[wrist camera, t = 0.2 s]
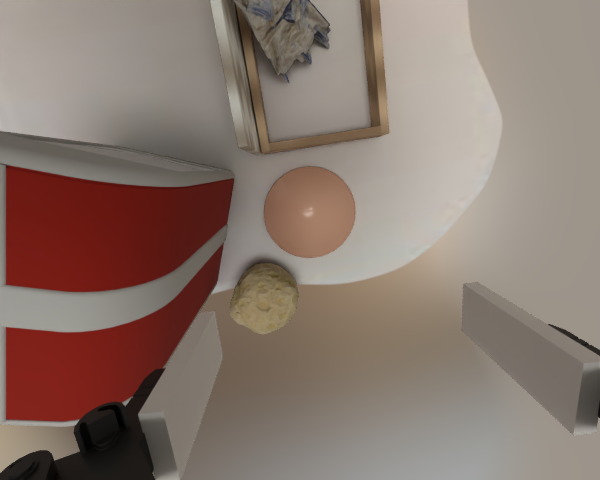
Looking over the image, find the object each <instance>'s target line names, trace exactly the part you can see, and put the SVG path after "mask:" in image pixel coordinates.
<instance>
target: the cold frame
mask: <svg viewBox="0 0 600 480" xmlns="http://www.w3.org/2000/svg"><path fill="white" fill-rule="evenodd" d="M210 2H211V8H212V13H213V18H214V23H215V29H216V34H217V39H218V44H219V49H220V55H221V60H222V65H223V70H224V76H225V81H226V86H227V91H228V96H229V102H230V107H231V112H232V117H233V123H234V128H235V133H236V138H237V143H238V148H241V149H243V150H245V151H248V152H250V153H252V154H255V155H263V154H269V153H276V152H282V151H289V150H295V149H302V148H308V147H314V146H321V145H327V144H334V143H340V142H347V141H353V140H359V139H366V138H372V137H379V136H382V135H385V134H388V133H389V122H388V109H387V96H386V83H385V70H384V57H383V44H382V31H381V18H380V4H379V0H360V3H361V14H362V25H363V36H364V47H365V59H366V70H367V81H368V92H369V103H370V115H371V126H372V127H370V128H363V129H357V130H350V131H344V132H337V133H331V134H325V135H318V136H312V137H305V138H299V139H292V140H286V141H279V142H273V143H270V141H269V135H268V129H267V123H266V117H265V111H264V105H263V99H262V93H261V87H260V81H259V75H258V69H257V63H256V57H255V51H254V45H253V39H252V33H251V28H250V26H249V24H248V22H247V20H246V19H245V17H244V15H243V13H242V11H241V10H240V8H238V6H237V4H235V2H234V1H233V0H210Z"/></svg>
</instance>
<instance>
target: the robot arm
mask: <svg viewBox="0 0 600 480" xmlns="http://www.w3.org/2000/svg"><path fill="white" fill-rule="evenodd" d="M462 331H463V332H464V333H465V334H466V335H467V336H468V337H469V338H470V339H471V340H472V341H473V342H474V343H475V344H477V345H478V346H479V347H480V348H481V349H482V350H483V351H484V352H485V353H486V354H487V355H488V356H489V357H490V358H492V359H493V360H494V361H495V362H496V363H497V364H498V365H499V366H500V367H501V368H502V369H503V370H504V371H506V373H508V374H509V375H510V376H511V377H512V378H513V379H514V380H515V381H516V382H517V383H518V384H519V385H520V386H521V387H523V388H524V389H525V390H526V391H527V392H528V393H529V394H530V395H531V396H532V397H533V398H534V399H535V400H536V401H537V402H539V403H540V404H541V405H542V406H543V407H544V408H545V409H546V410H547V411H548V412H549V413H550V414H551V415H552V416H554V417H555V418H556V419H557V420H558V421H559V422H560V423H561V424H562V425H563V426H564V427H565V428H566V429H567V430H568V431H569V432H570V433H572V434H573V435H579V434H588V433H595V432H596V428H597V422H598V417H599V418H600V350H599V349H597V348H595V347H594V346H592V345H589V344H588V343H587V342H585V341H583V340H582V339H578V337H577V336H575V335H573V334H571V333H570V332H568V331H566V330H564V329H561V328H559V327H556V326H553V325H550V324H546V323H544V322H543V321H541V320H539V319H538V318H536V317H534V316H532V315H531V314H529V313H528V312H526V311H524V310H523V309H521V308H519V307H518V306H516V305H514V304H513V303H511V302H509V301H508V300H506V299H505V298H503V297H501V296H499V295H498V294H496V293H495V292H493V291H491V290H490V289H488V288H486V287H485V286H483V285H481V284H480V283H478V282H475V283H466V284H463V306H462ZM222 358H223V355H222V350H221V344H220V339H219V334H218V328H217V322H216V317H215V311H210V312H202V313H199V315H198V316H197V318H196V320H195V321H194V323H193V325H192V326H191V328H190V329H189V331H188V333H187V334H186V336H185V338H184V339H183V341H182V343H181V345H180V346H179V348H178V349H177V351H176V353H175V354H174V356H173V357H172V359H171V361H170V362H169V364H168V366H167V367H166V368H162V369H155V370H154V371H153V372H152V373H150V374H149V375H148V376H147V377H146V378H145V379H144V380H143V381H142V383H141V384H140V386H139V387H138V390H136V392H135V393H134V395H133V398H131V399H130V401H129V402H128V404H127V405H126V407H125V405H124V404H123V403H121V402H110V403H105V404H103V405H100V406H98V407H96V408H94V409H92V410H91V411H89V412H88V413H86V414H85V415H84V416H83V417H82V418H81V419H80V420H79V421H78V422H77V424H76V425H75V428H74V435H75V437H76V441H77V443H78V446H79V449H80V452H78V453H75V454H72V455H69V456H66V457H64V458H61V459H58V460H55V461H54V459H53V456H52V454H51V453H50V452H49V451H47V450H40V451H36V452H33V453H30V454H28V455H26V456H24V457H22V458H20V459H18V460H16V461H15V462H13V463H12V464H11V465H9V466H8V467H7V468H5V470H3V471H2V472H1V473H0V480H155V479H156V480H181V478H182V475H183V472H184V470H185V467H186V464H187V461H188V458H189V455H190V452H191V449H192V446H193V443H194V440H195V437H196V435H197V432H198V429H199V426H200V423H201V420H202V417H203V414H204V411H205V408H206V405H207V402H208V399H209V397H210V393H211V391H212V388H213V385H214V382H215V379H216V376H217V373H218V370H219V367H220V364H221V361H222ZM153 471H154V475H155V478H154V476H153V474H152V472H153Z"/></svg>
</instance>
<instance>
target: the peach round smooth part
mask: <svg viewBox="0 0 600 480" xmlns="http://www.w3.org/2000/svg"><path fill="white" fill-rule="evenodd" d="M264 219H265V224H266V227H267V230H268V232H269V234H270V236H271V238H272V239H273V240H274V242H275V243H276V244H277V245H278V246H279V247H280V248H282V249H283V250H285V251H286V252H288V253H290V254H292V255H295V256H299V257H304V258H313V257H320V256H323V255H326V254H328V253H330V252H332V251H334V250H335V249H337V248H338V247H339V246H340V245H342V244H343V242H344V241H345V240H346V239H347V237H348V236H349V234H350V232H351V230H352V228H353V225H354V221H355V202H354V199H353V195H352V193H351V191H350V189H349V188H348V186H347V185H346V183H345V182H344V181H343V180H342V179H341V178H340V177H339V176H337V175H336V174H334V173H333V172H331V171H328V170H326V169H323V168H318V167H302V168H298V169H295V170H292V171H290V172H288V173H286V174H285V175H283V176H282V177H281V178H280V179H279V180H277V181H276V183H275V184H274V185H273V186H272V188H271V190H270V191H269V193H268V196H267V198H266V202H265V207H264Z"/></svg>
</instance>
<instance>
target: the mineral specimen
mask: <svg viewBox="0 0 600 480" xmlns="http://www.w3.org/2000/svg"><path fill="white" fill-rule="evenodd" d="M233 1H234V2H235V4H237V6H238V8H240V10H241V11H242V13H243V15H244V17H245V19H246V20H247V22H248V24H249V26H250V28H251V29H252V31H253V33H254V35H255V36H256V38H257V41H258V42H259V44H260V46H261V47H262V50H263V51H264V53H265V55H266V56H267V58H268V60H269V61H270V63H271V65H272V67H273V68H274V70H275V72H276V74H277V75H279V74H280V73H282V74H284V76H285V77H286V80H287V82H288V83H290V82H289V80H288V77H287V75H286V71H288V70H289V69H290V68H291V65H292V64H293V61H294V60H299V62H303V61H305V59H306V60H307V61H308V62H309V63H310V64H311V56H310V54H309V53H308V50H309V48H310V46H311V45H312V43H313V39H314V38H315V39H316V40H317V41H319V42H320V43H322V44H323V45H325V46H326V47H327V48H329V44H328V41H329V40H328V37H327V34H328V33H329V32H330V28H329V26H330V24H329V23H328V21H327V20H326V19H325V18H324V17H323V16H322V14H321V13H320V12H319V11H318V10H317V9H316V8H315V6H314V5H313V4H312V3H311V2H310V0H233Z"/></svg>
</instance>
